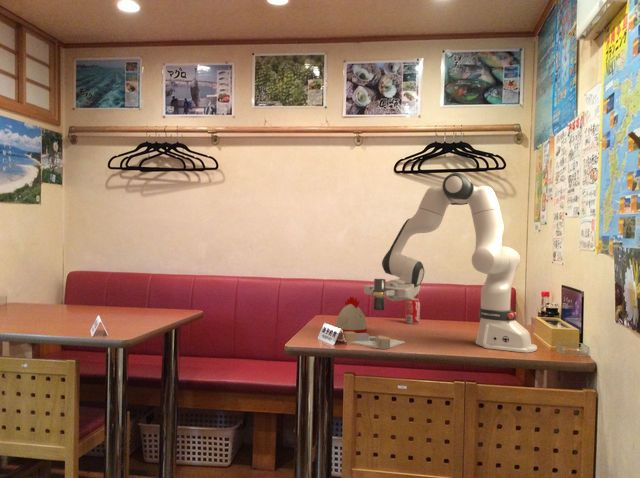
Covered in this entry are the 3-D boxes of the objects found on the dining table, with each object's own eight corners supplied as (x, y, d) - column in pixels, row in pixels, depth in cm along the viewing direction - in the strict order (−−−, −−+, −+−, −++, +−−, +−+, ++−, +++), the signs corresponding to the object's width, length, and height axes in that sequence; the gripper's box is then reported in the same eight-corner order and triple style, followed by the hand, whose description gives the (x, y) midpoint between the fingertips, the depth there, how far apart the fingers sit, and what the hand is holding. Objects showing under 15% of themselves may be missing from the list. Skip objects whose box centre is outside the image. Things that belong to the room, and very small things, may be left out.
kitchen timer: (350, 335, 211) (351, 299, 211) (328, 330, 222) (329, 296, 222) (373, 331, 221) (374, 297, 221) (351, 327, 231) (352, 294, 231)
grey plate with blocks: (408, 343, 196) (408, 333, 196) (386, 350, 183) (386, 340, 183) (357, 335, 211) (357, 326, 211) (334, 341, 197) (334, 331, 197)
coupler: (387, 309, 199) (387, 279, 199) (381, 310, 196) (381, 279, 196) (377, 308, 202) (377, 278, 202) (370, 309, 199) (371, 279, 199)
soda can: (418, 322, 249) (419, 298, 249) (420, 324, 242) (420, 299, 242) (404, 321, 250) (405, 297, 250) (405, 324, 243) (406, 299, 243)
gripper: (374, 280, 216) (356, 282, 205) (417, 284, 203) (401, 286, 192) (373, 295, 216) (356, 298, 205) (417, 300, 203) (400, 303, 192)
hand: (378, 292), depth 198 cm, fingers closed on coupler, 5 cm apart
